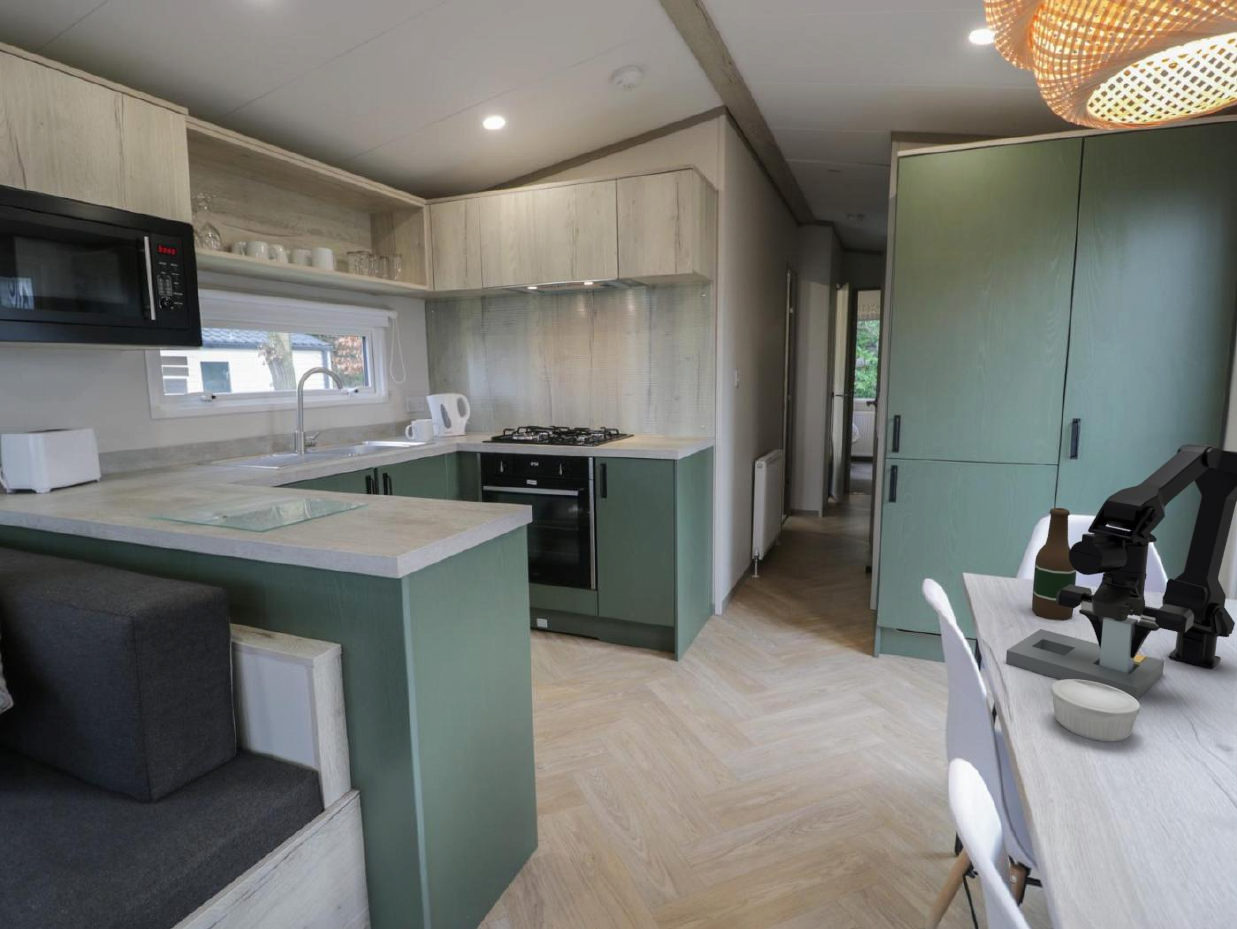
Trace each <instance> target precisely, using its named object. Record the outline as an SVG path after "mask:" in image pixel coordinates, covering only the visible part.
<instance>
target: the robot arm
mask: <svg viewBox="0 0 1237 929" xmlns="http://www.w3.org/2000/svg"><path fill="white" fill-rule="evenodd" d="M1193 482H1194V483H1195V486H1196V487H1197V490H1198V492H1199V494H1200V500H1199V504H1198V509H1197V514H1196V517H1195V522H1194V526H1193V531H1192V534H1191V539H1190V544H1189V547H1188V551H1187V556H1186V559H1185V564H1184V567H1183V570H1182V571H1183V572H1181V573H1180V574H1179V575H1177V576H1176V577H1175V578H1169V579H1168V580H1167V581H1166V586H1165V591H1164V593H1163V596H1162V599H1161V600H1162V603H1161V604H1162V605H1161V606H1160V608H1157V607H1153V606H1152V607H1151V606H1147V605H1146V600H1145V586H1146V580H1147V563H1148V554H1149V544H1150V543H1155V542H1157V540H1158V539H1157V537H1156V536H1155V535H1153V533H1151V532H1152V531H1154V530H1155V529H1157V526H1158V525H1159V524H1160V523H1161V522H1162V521H1163V520H1164V518H1165V517H1166V506H1167V505H1168V504H1169V503H1170V502H1171V501H1173V499H1174V498H1176V497H1177V496H1178V495H1179V494H1180V493H1181V492H1183V491H1184V490H1185V489H1186V488H1188V487H1189V486H1190V485H1191V484H1192V483H1193ZM1236 504H1237V450H1236V451H1234V450H1227V449H1226V450H1224V449H1220V448H1219V447H1215V446H1212V445H1205V444H1203V445H1202V444H1193V443H1186V444H1183V445H1180V446H1179V448H1178V450H1177V451H1176V453H1175V455H1173V456H1172V457H1171V458H1170V459H1169V460H1168V461H1166V462H1165V463H1164V464H1163V465H1161V466H1160V467H1159V468H1158V469H1156V470H1155V471H1154V472H1153V473H1151V474H1150V475H1149V476H1148V477H1147V478H1146V479H1145V480H1143V481H1142V482H1141V483H1139V484H1137V485H1135V486H1129V487H1126V488H1123V489H1120V490H1118V491H1116V492H1115V493H1113V494H1111V495H1110V496H1108V497H1107V498H1106V500H1105V501H1104V503H1102V506H1101V507H1100V509H1099V510H1098V512H1097V514H1096V516H1095V517H1094V519H1093V520H1092V522H1091V524H1090V525H1089V528H1088V529H1087V533H1082V535H1081V540H1080V541H1077V542H1075V543H1074V544H1073V545H1072V546H1071V548H1070V549H1071V550H1070V551H1069V560H1070V563H1071V565H1072V567H1073V568H1074V569H1075V570H1076V572H1077V573H1080V574H1081V575H1084V576H1092V575H1098V574H1099V575H1100V574H1102V578H1101V582H1100V584H1099V586H1098V588H1097V589H1096V590H1095V592H1094V594H1093V592H1092V588H1089V587H1085V586H1080V585H1076V584H1075V585H1071V584H1069V585H1068V586H1066V587H1064V588H1062V589H1061V590H1059V591H1058V592H1057V595H1056V604H1058V605H1062V606H1066V607H1070V608H1073V609H1075V608H1078V607H1079V606H1080V609H1079V610H1078V614H1080V615H1083V616H1085V618H1087V619H1088V620H1089V622H1090V623H1091V624H1090V625H1091V626H1092V628H1093V631H1094V633H1095V637H1096V641H1097V644H1099V647H1100V649H1101V640H1102V629H1103V619H1104V618H1105V617H1106V618H1111V619H1114V620H1115V621H1125V620H1126V619H1127V617H1129V616H1132V617H1133V616H1136V617H1139V620H1138V622H1137V623H1136V624H1135V634H1134V639H1133V643H1132V647H1131V658H1134V657H1135V656H1136V654H1138V653H1139V651H1140V649H1141V647H1142V646H1143V644H1144V642H1145V640H1146V639H1147V637H1148V635H1150V633H1151V632H1157V631H1159V630H1160V629H1163V630H1166V631H1170V632H1171V631H1172V632H1175V633H1176V639H1175V640H1176V641H1175V648H1174V649H1173V650H1172V651H1171V652H1170V653H1169V654H1168V658H1169V659H1172V660H1176V661H1180V662H1184V663H1188V664H1192V665H1196V666H1201V667H1202V668H1208V669H1215V667H1216V666H1217V665H1218V663H1219V662H1220V661H1221V656H1219V655H1216V650H1217V643H1218V638H1219V637H1221V638H1229V637H1230V635H1232V634H1233V631H1234V628H1235V626H1236V623H1235V621H1234V619H1233V618H1232V616H1231V615H1230V613H1229V612H1228V611H1227V608H1226V598H1227V596H1226V593H1225V591H1224V589H1223V587H1222V584H1221V582H1220V581H1219V576H1220V572H1221V567H1222V563H1223V560H1224V555H1225V550H1226V548H1227V547H1226V546H1227V542H1228V539H1229V533H1230V529H1231V525H1232V521H1233V518H1234V517H1233V516H1234V513H1235V510H1236V509H1235V508H1236Z"/></svg>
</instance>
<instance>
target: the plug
mask: <svg viewBox="0 0 1237 929" xmlns="http://www.w3.org/2000/svg"><path fill="white" fill-rule="evenodd" d="M1137 622H1139V618H1138V619H1137V618H1134V617H1133V618H1132V617H1130V616H1128V617H1127V619H1126V620H1125V621H1115V620H1114V619H1111V618H1106V617H1105V618H1104V619H1103V629H1102V640H1101V651H1100V663H1099V665H1100V666H1103V667H1107V668H1110V669H1114V670H1117V671H1121V672H1125V673H1128V674H1131V673H1132V672H1133V666H1134V658H1131V647H1132V643H1133V639H1134V634H1135V624H1136V623H1137Z"/></svg>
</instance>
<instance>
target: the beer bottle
mask: <svg viewBox="0 0 1237 929" xmlns="http://www.w3.org/2000/svg"><path fill="white" fill-rule="evenodd" d="M1048 513H1049V514H1050V516H1049V517H1050V518H1049V523H1048V524H1049V526H1048V531H1047V537H1046V542H1045V543H1044V544H1043V545H1042V546H1041V547H1040V549H1039V550H1038V552H1037V554H1036V556H1035V561H1034V572H1033V583H1032V584H1033V585H1032V587H1033V588H1032V598H1031V609H1032V612H1033V613H1034V615H1036V616H1038V617H1040V618H1042V619H1043V618H1044V619H1047V620H1050V621H1051V620H1053V621H1066V620H1070V619H1072V617H1073V614H1074V608H1070V607H1066V606H1062V605H1058V604H1056V595H1057V592H1058V591H1059V590H1061V589H1062V588H1064V587H1066V586H1068V585H1069V584H1071V585H1076V582H1077V581H1076V580H1077V571H1076V570H1075V569H1074V568H1073V567H1072V565H1071V563H1070V560H1069V551H1070V550H1071V548H1070V544H1069V516H1070V515H1071V513H1070V510H1069V509H1066V508H1065V507H1063V508H1062V507H1053V508H1050V510H1049V512H1048Z"/></svg>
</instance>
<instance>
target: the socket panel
mask: <svg viewBox="0 0 1237 929" xmlns="http://www.w3.org/2000/svg"><path fill="white" fill-rule="evenodd" d="M1100 651H1101V649H1100V647H1099V644H1098V642H1097V643H1096V642H1093V641H1089V640H1084V639H1081V638H1077V637H1073V636H1068V635H1065V634H1063V633H1062V634H1061V633H1058V632H1055V631H1050V630H1046V629H1043V628H1040V629H1038V630H1037V631H1035V632H1033V633H1032V634H1030V635H1029V636H1027V637H1026V638H1024V639H1023V640H1020V641H1018V642H1017V643H1016V644H1014V645H1013V646H1011V647H1009V648H1008V649H1007V650H1006V655H1005V656H1006V657H1005V658H1006V659H1005V663H1006V664H1008V665H1012V666H1015V667H1018V668H1021V669H1025V670H1029V671H1032V672H1035V673H1038V674H1041V675H1045V676H1048V677H1052V678H1054V679H1057V680H1066V679H1078V680H1087V681H1092V682H1097V683H1101V684H1105V685H1108V686H1111V687H1114V688H1116V689H1119V690H1121V691H1123V692H1125V693H1127V694H1129V695H1131V696H1132V697H1134V698H1135V699H1136V700H1137V701H1138V700H1139V699H1141V697H1142V696H1144V694H1146V692H1147V691H1148V690H1149V689H1150V688H1151V687H1152V686H1153V685H1154V684H1155V683H1156V682H1157V681H1158V680H1159V679H1160V678H1161V677H1162V676H1163V675H1164V669H1165V668H1164V666H1165V660H1163V659H1157V658H1155V657H1150V656H1148V655H1147V656H1146V655H1143V654H1138V653H1137V654H1136V656H1135V657H1134V666H1133V672H1132V673H1131V674H1128V673H1125V672H1121V671H1117V670H1114V669H1110V668H1107V667H1103V666H1100V665H1099V663H1100Z"/></svg>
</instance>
